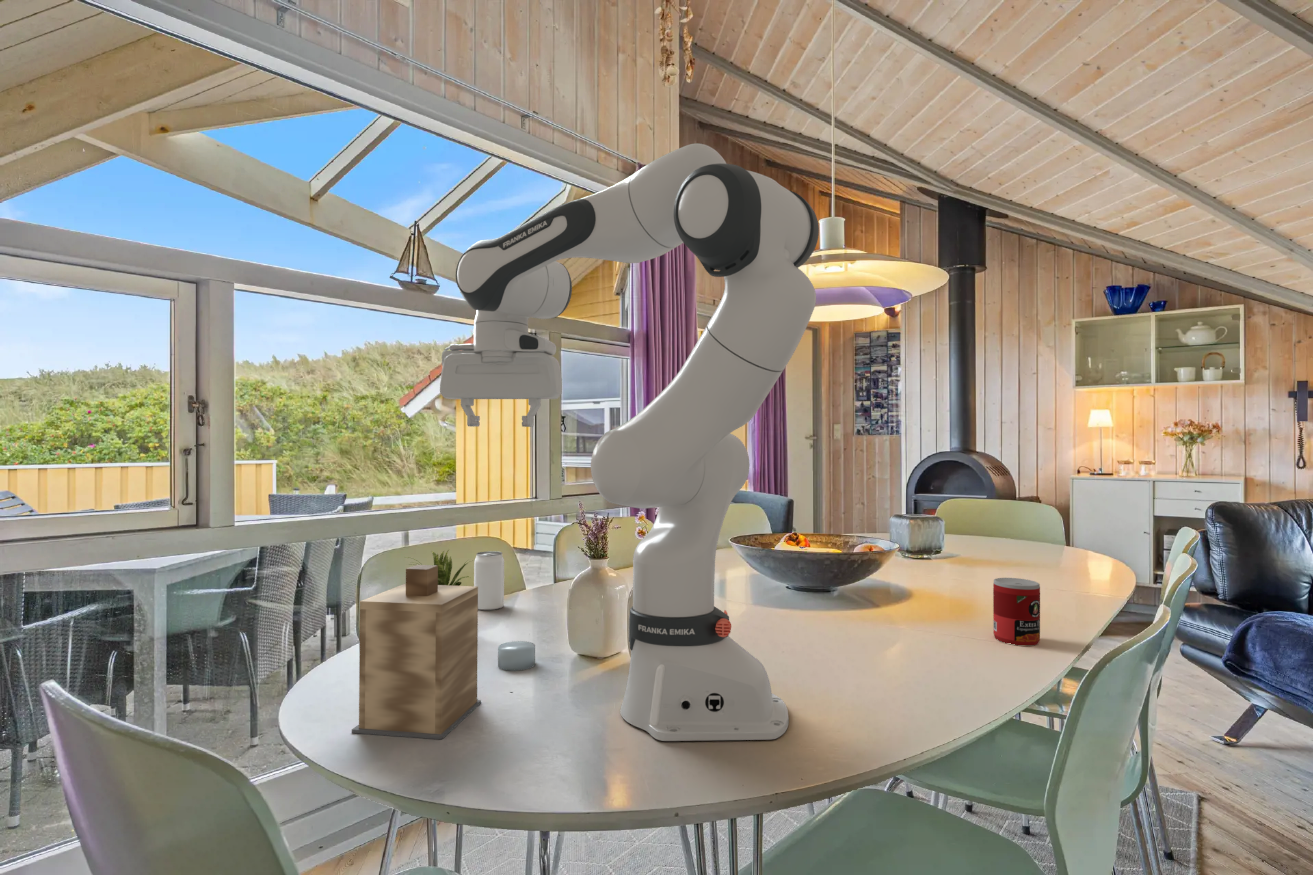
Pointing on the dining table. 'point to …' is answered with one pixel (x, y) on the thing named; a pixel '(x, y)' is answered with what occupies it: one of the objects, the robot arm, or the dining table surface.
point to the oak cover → (418, 654)
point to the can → (489, 579)
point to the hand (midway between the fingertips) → (500, 426)
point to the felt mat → (416, 734)
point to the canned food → (1016, 611)
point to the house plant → (445, 569)
